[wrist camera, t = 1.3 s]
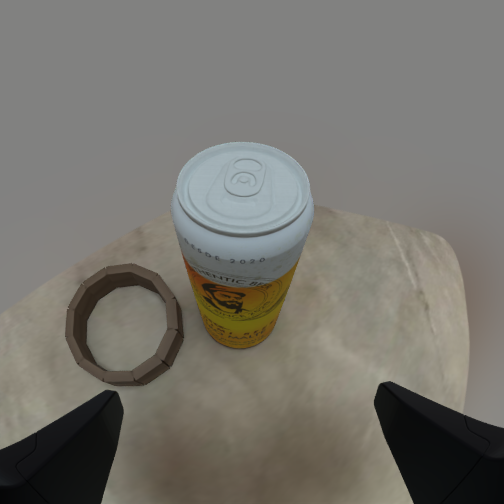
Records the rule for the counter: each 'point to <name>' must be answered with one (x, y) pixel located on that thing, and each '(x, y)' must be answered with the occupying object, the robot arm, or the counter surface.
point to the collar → (86, 302)
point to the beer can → (241, 235)
